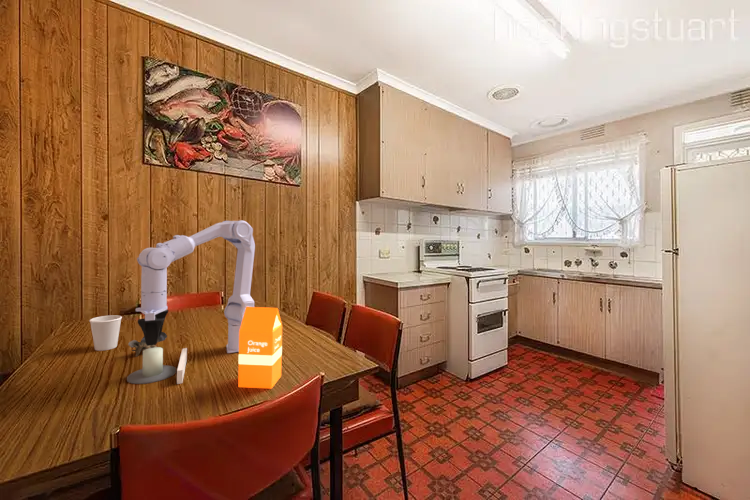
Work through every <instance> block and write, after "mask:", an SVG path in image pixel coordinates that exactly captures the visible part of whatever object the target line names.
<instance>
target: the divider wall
mask: <svg viewBox="0 0 750 500" xmlns="http://www.w3.org/2000/svg"><path fill="white" fill-rule="evenodd" d="M187 360H188V347H185V348H181V353H180V357H179V362H178V366H177V368H176V384H177V385H179V384H181V385H182V384H183V383H184V377H185V371H186V366H187Z"/></svg>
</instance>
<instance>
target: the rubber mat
mask: <svg viewBox="0 0 750 500" xmlns="http://www.w3.org/2000/svg"><path fill="white" fill-rule="evenodd" d="M175 374H177V368H176V367H175V366H173V365H167V364H166V365H164V364H163V372H162V373H161V374H159V375H157V376H152V377H144V376H143V368H140V369H138V370H136V371H135V370H134V372H133V371H132V373H131V372H130V374H128V376H127V377H126V381H127V383H129V384H133V385H146V384H153V383H157V382H161V381H163V380H167V379H168V378H171V377H172V376H174V375H175Z"/></svg>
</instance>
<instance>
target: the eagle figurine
mask: <svg viewBox="0 0 750 500" xmlns="http://www.w3.org/2000/svg"><path fill="white" fill-rule="evenodd" d="M167 338H168V335H167V333H165V332H164V331H162V333H161V336H160V337H158V341H157V344H158V343H161V342H164V341H166V339H167ZM128 346H129V347H130V348H135V349H131V351H132V352H135V358H137V357H138V356H139V355H140V354H141V351H142V352H143V351H144V350H145V349H148V348H153V347H157V345H149V346H147V345H146V342H145V338H144V336H143V337H142V339H141V340H140V342H139V341H137V340H136V339H133V340H130V341H129V342H128Z"/></svg>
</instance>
